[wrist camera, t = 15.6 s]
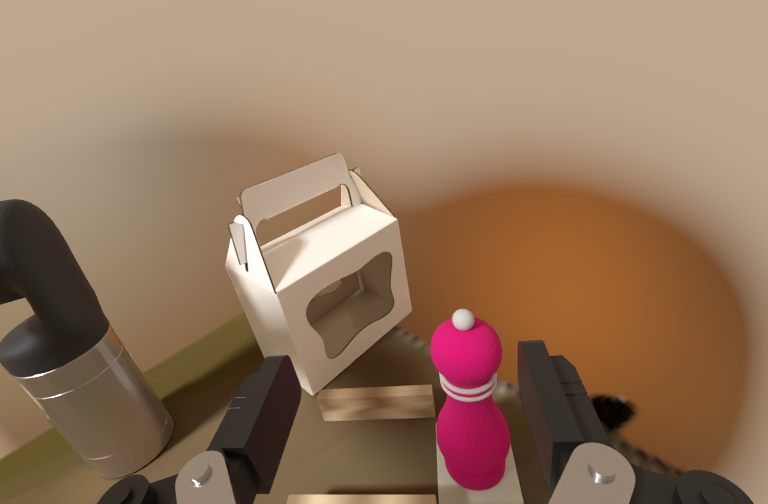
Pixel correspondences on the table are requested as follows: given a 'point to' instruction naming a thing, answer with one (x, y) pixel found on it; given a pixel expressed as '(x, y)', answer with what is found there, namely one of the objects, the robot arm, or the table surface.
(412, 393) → the oak channel
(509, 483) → the sage pad
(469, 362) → the pepper mill
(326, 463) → the table surface
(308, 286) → the gable box
